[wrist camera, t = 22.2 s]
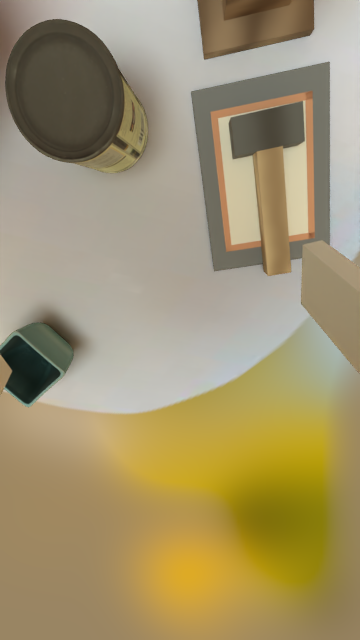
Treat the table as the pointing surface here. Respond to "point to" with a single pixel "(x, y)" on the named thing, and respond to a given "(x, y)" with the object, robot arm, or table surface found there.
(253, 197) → the pad
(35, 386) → the flower pot
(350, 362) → the robot arm
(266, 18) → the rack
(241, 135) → the wooden handled hammer
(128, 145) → the coffee can
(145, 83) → the table surface
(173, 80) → the table surface
